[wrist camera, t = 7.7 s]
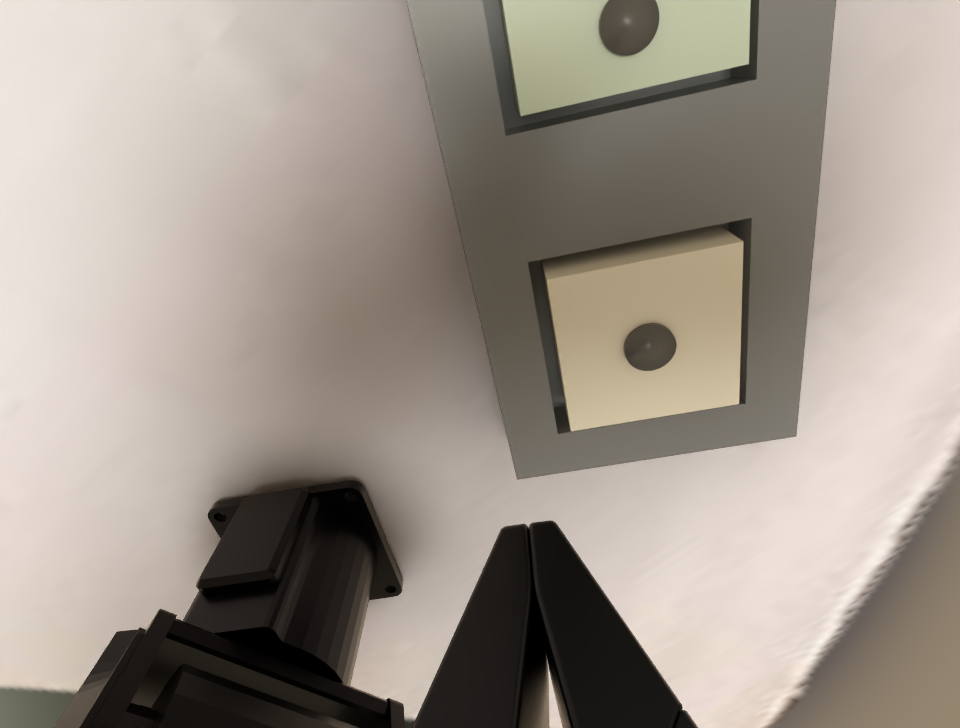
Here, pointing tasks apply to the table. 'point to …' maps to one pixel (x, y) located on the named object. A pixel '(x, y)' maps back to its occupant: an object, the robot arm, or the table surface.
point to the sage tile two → (616, 46)
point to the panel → (633, 212)
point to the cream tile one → (647, 326)
